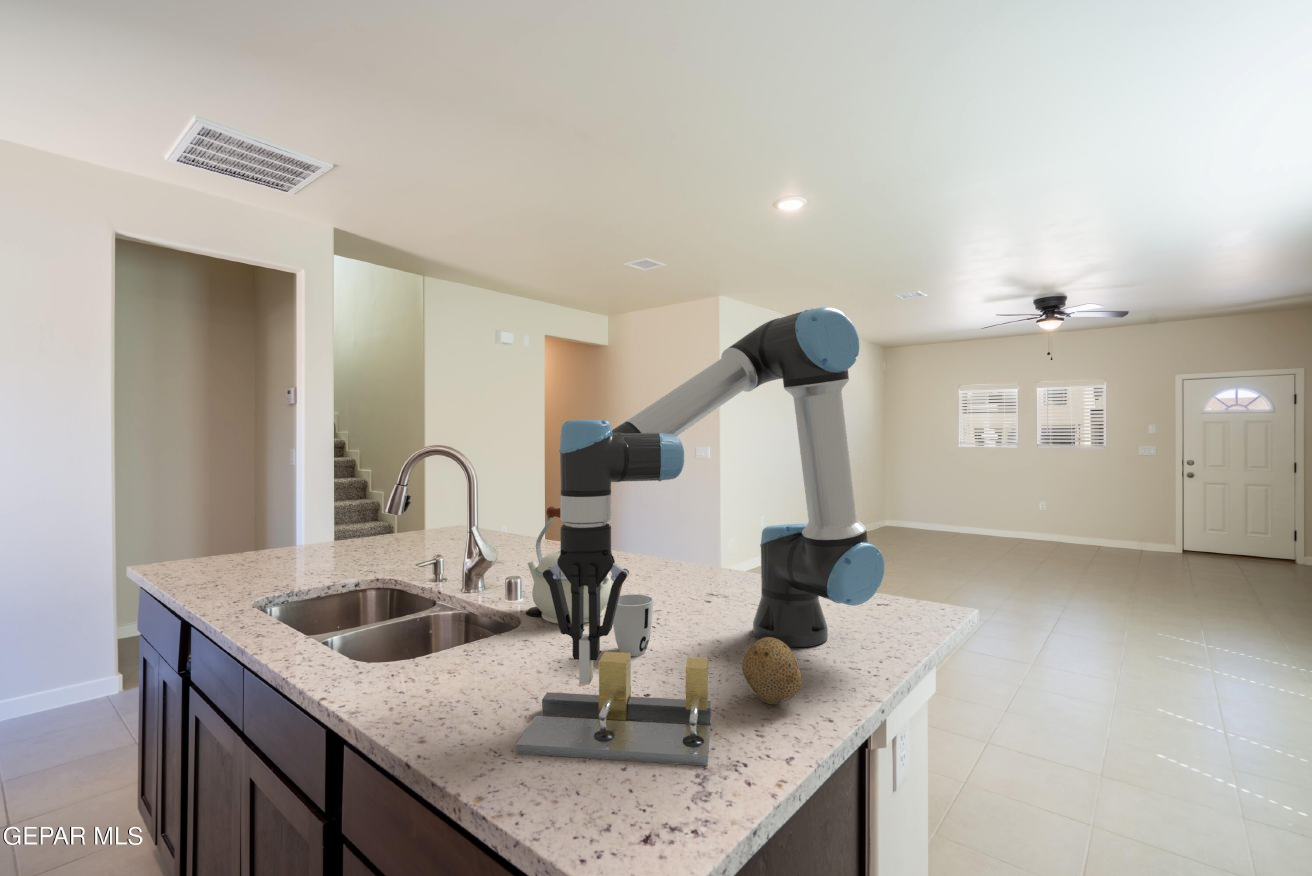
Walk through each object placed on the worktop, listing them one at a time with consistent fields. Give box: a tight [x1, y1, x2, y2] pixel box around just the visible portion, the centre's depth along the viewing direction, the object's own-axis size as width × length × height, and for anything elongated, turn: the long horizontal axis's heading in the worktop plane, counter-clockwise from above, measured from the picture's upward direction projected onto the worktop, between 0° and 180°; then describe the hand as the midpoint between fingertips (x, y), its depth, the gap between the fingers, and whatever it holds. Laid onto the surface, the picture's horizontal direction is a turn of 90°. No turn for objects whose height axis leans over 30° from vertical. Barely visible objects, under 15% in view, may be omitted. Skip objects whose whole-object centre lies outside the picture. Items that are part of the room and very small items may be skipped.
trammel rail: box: [541, 656, 712, 740], centre depth 86 cm, size 25×11×8 cm, turn 83°
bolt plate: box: [515, 715, 711, 767], centre depth 81 cm, size 25×8×1 cm, turn 83°
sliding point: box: [598, 651, 632, 734], centre depth 86 cm, size 4×11×8 cm, turn 173°
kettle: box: [527, 505, 613, 625], centre depth 140 cm, size 25×18×25 cm
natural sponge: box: [741, 637, 802, 705], centre depth 94 cm, size 9×9×10 cm
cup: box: [612, 593, 654, 657], centre depth 116 cm, size 8×8×10 cm
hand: (586, 680), depth 90 cm, fingers closed
